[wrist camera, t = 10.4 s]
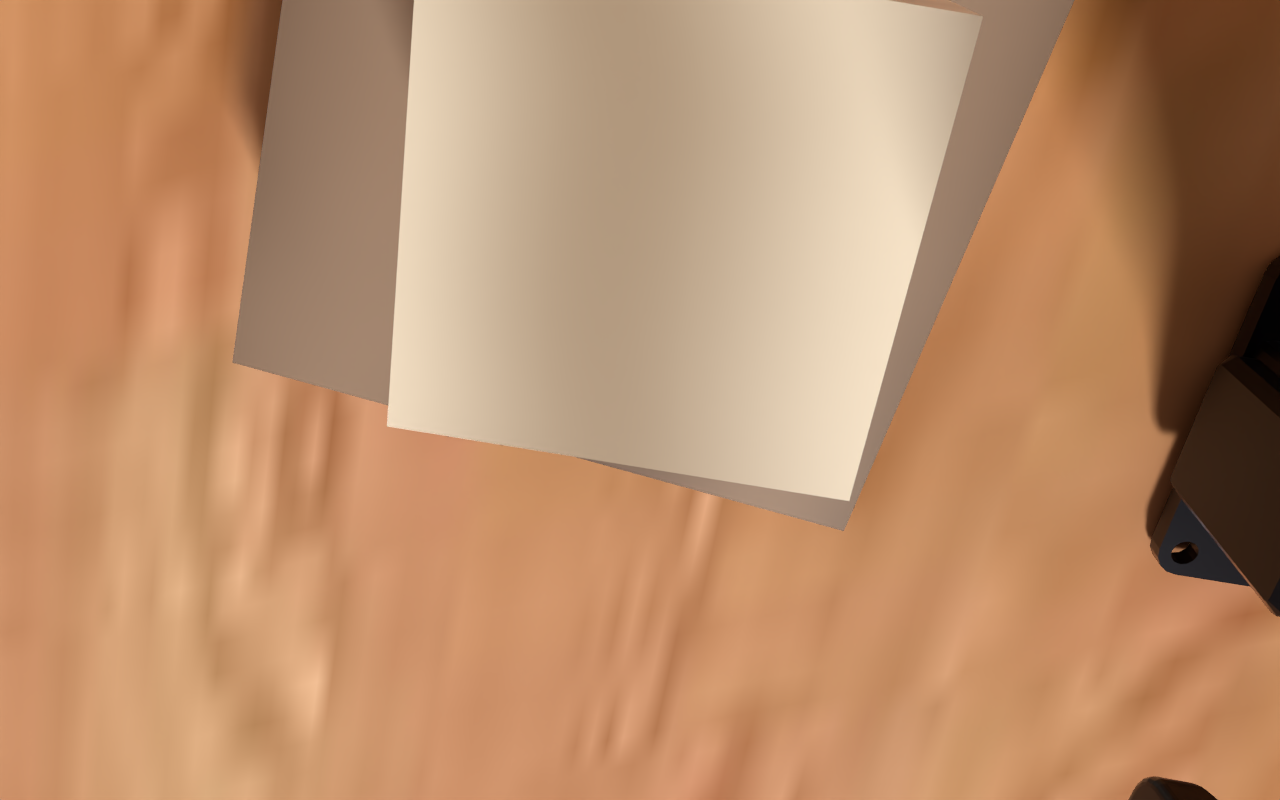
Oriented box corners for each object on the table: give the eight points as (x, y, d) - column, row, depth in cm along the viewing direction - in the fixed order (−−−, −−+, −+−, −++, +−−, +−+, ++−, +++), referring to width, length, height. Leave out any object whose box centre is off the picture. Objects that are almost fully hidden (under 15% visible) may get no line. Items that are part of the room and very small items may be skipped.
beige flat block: (1039, -127, 17) (1130, -129, 14) (818, 421, 21) (843, 531, 18) (415, -331, 16) (336, -392, 13) (313, 279, 21) (232, 362, 17)
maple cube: (893, -27, 14) (983, 16, 10) (808, 329, 16) (849, 501, 12) (509, -93, 14) (417, -81, 10) (474, 274, 16) (386, 426, 12)
